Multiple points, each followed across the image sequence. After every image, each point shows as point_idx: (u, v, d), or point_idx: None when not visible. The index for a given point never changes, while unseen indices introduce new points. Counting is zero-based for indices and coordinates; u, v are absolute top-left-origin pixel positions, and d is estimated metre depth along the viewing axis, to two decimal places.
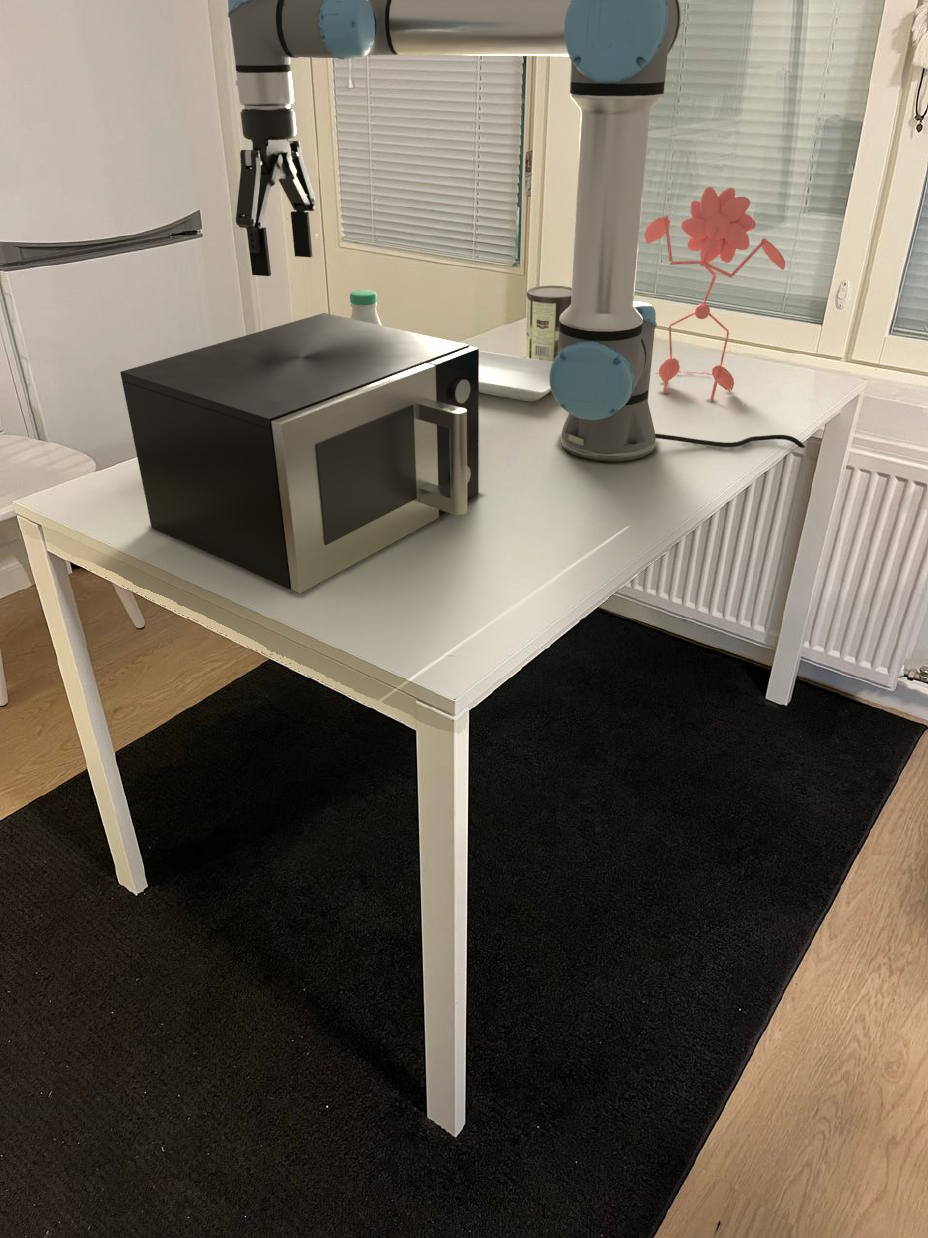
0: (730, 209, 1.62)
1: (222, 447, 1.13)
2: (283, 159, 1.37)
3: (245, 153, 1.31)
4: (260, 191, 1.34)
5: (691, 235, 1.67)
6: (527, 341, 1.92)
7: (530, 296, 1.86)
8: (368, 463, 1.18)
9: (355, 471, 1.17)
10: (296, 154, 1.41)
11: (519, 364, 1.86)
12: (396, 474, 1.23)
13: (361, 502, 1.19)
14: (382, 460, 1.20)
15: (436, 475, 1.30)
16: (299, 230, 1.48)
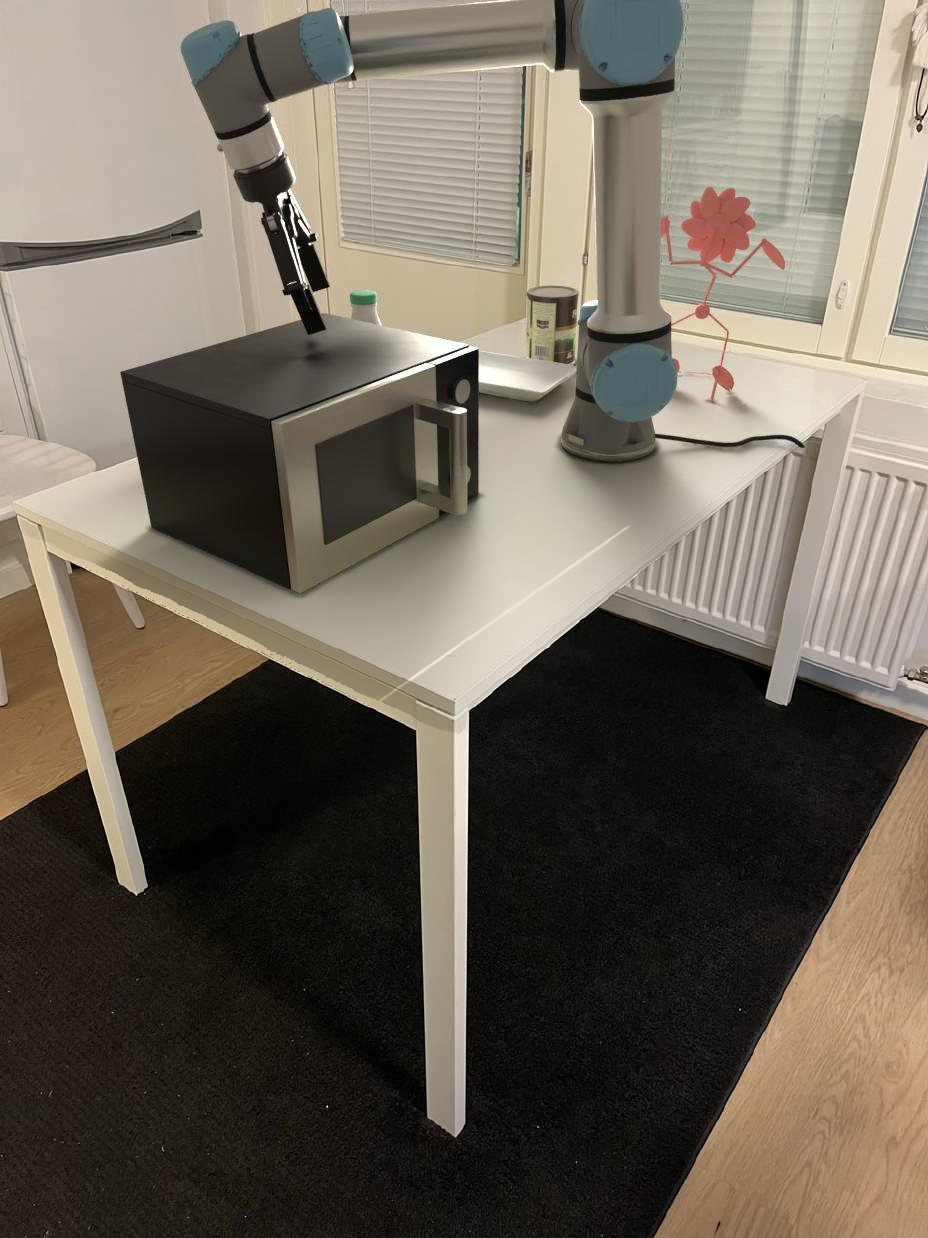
0: (730, 209, 1.62)
1: (222, 447, 1.13)
2: None
3: (268, 220, 1.22)
4: None
5: (691, 235, 1.67)
6: (527, 341, 1.92)
7: (530, 296, 1.86)
8: (368, 463, 1.18)
9: (355, 471, 1.17)
10: (289, 192, 1.31)
11: (519, 364, 1.86)
12: (396, 474, 1.23)
13: (361, 502, 1.19)
14: (382, 460, 1.20)
15: (436, 475, 1.30)
16: (310, 265, 1.40)
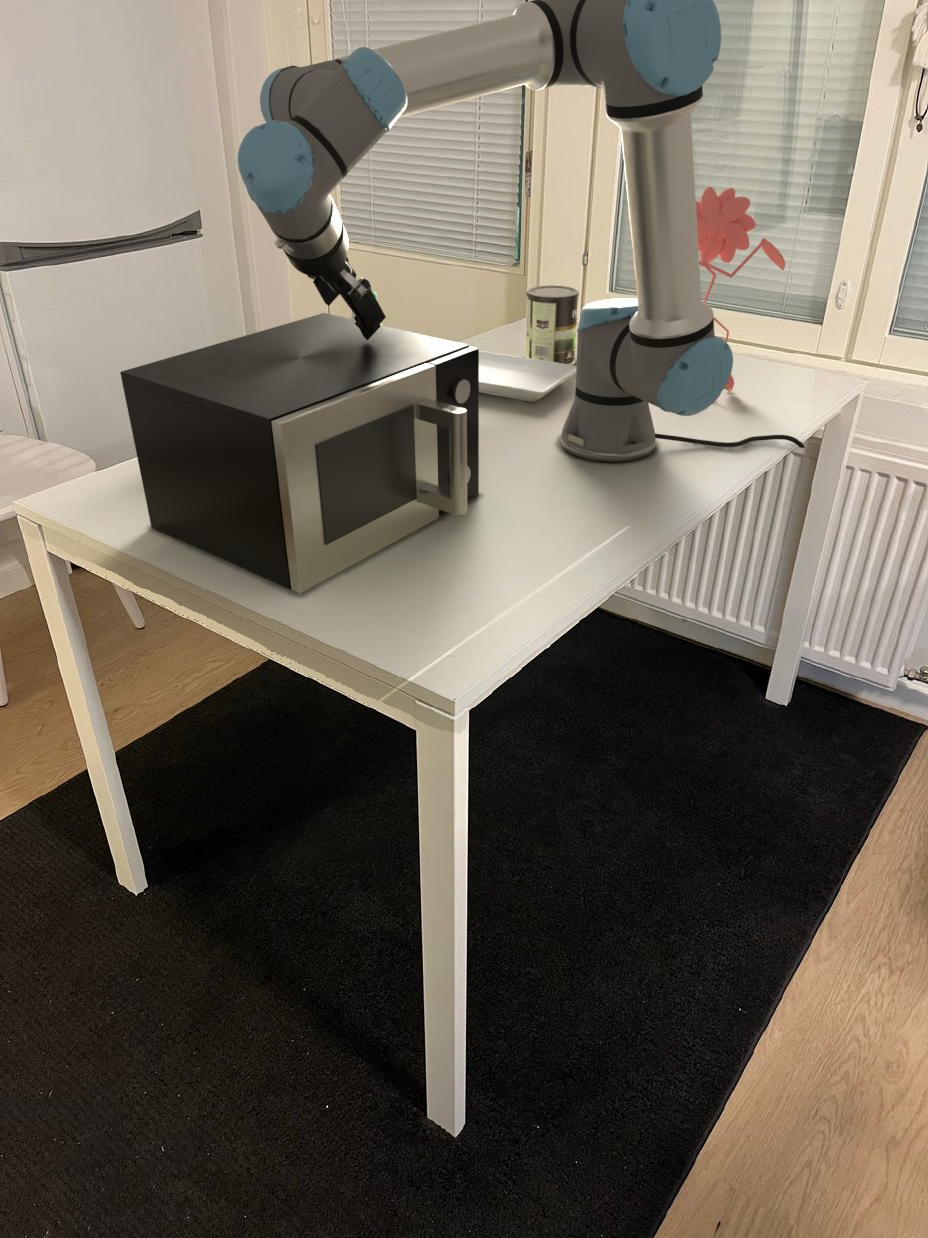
0: (730, 209, 1.62)
1: (222, 447, 1.13)
2: None
3: (361, 294, 1.14)
4: None
5: None
6: (527, 341, 1.92)
7: (530, 296, 1.86)
8: (368, 463, 1.18)
9: (355, 471, 1.17)
10: None
11: (519, 364, 1.86)
12: (396, 474, 1.23)
13: (361, 502, 1.19)
14: (382, 460, 1.20)
15: (436, 475, 1.30)
16: (327, 287, 1.28)
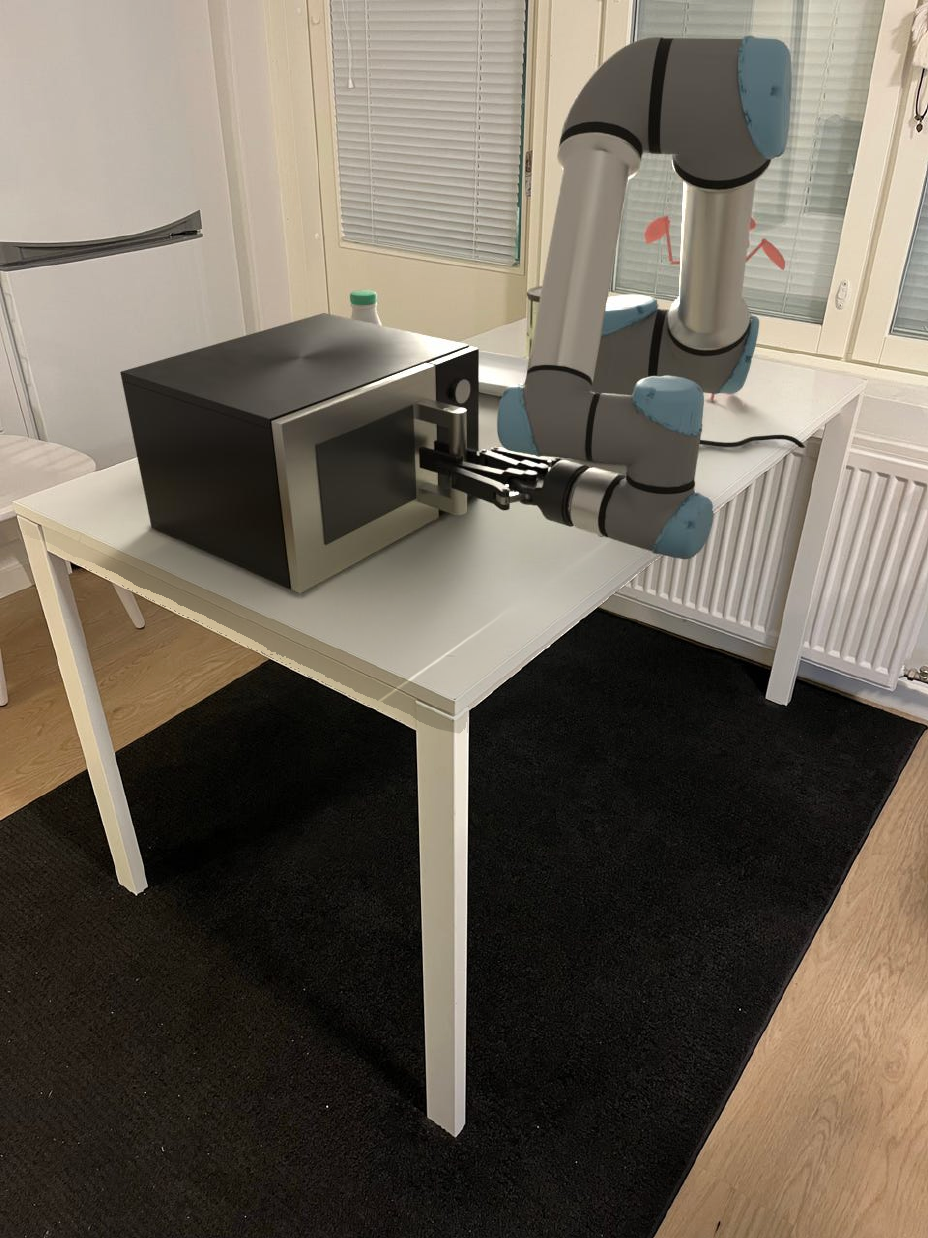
0: None
1: (222, 447, 1.13)
2: None
3: None
4: None
5: None
6: (527, 341, 1.92)
7: (530, 296, 1.86)
8: (368, 463, 1.18)
9: (355, 471, 1.17)
10: (508, 485, 1.14)
11: (519, 364, 1.86)
12: (396, 474, 1.23)
13: (361, 502, 1.19)
14: (382, 460, 1.20)
15: (436, 475, 1.30)
16: None
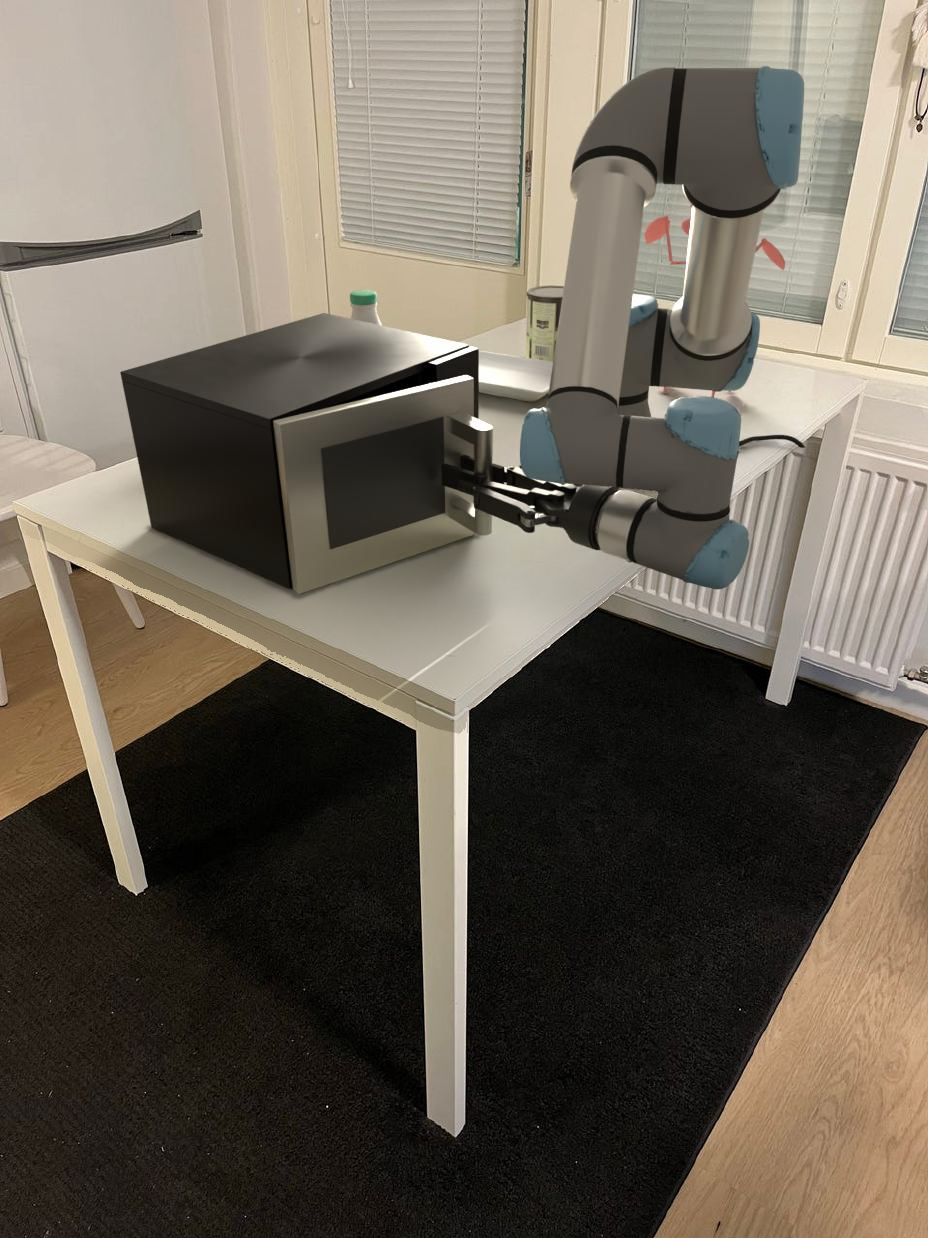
0: None
1: (222, 447, 1.13)
2: None
3: None
4: None
5: None
6: (527, 341, 1.92)
7: (530, 296, 1.86)
8: (385, 472, 1.16)
9: (369, 478, 1.15)
10: (533, 506, 1.09)
11: (519, 364, 1.86)
12: (420, 486, 1.20)
13: (375, 510, 1.17)
14: (402, 470, 1.17)
15: None
16: None
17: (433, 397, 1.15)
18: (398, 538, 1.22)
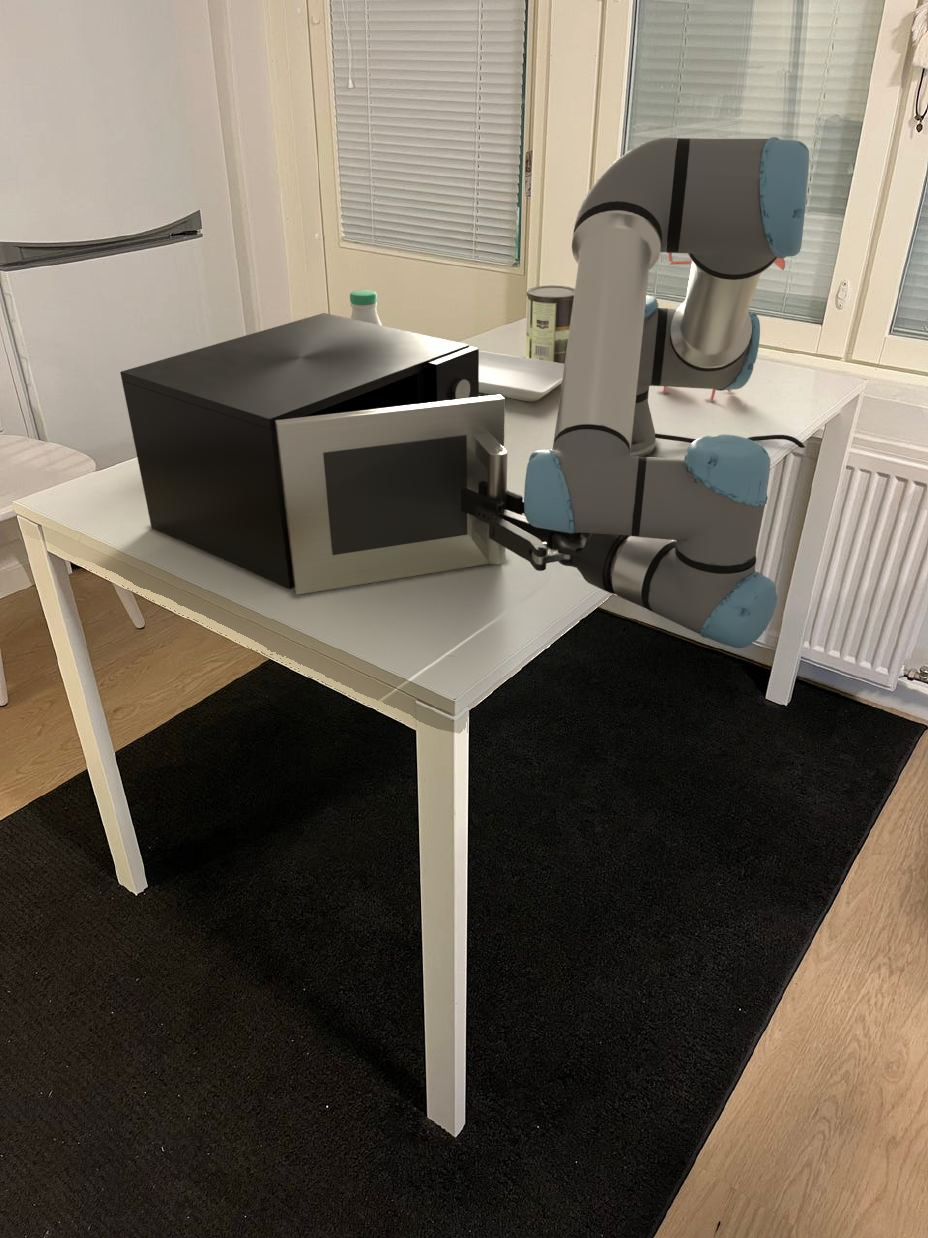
0: None
1: (222, 447, 1.13)
2: None
3: None
4: None
5: None
6: (527, 341, 1.92)
7: (530, 296, 1.86)
8: (396, 485, 1.12)
9: (377, 489, 1.12)
10: (546, 542, 1.01)
11: (519, 364, 1.86)
12: (437, 503, 1.15)
13: (384, 522, 1.14)
14: (417, 485, 1.13)
15: None
16: None
17: (455, 414, 1.10)
18: (411, 554, 1.18)
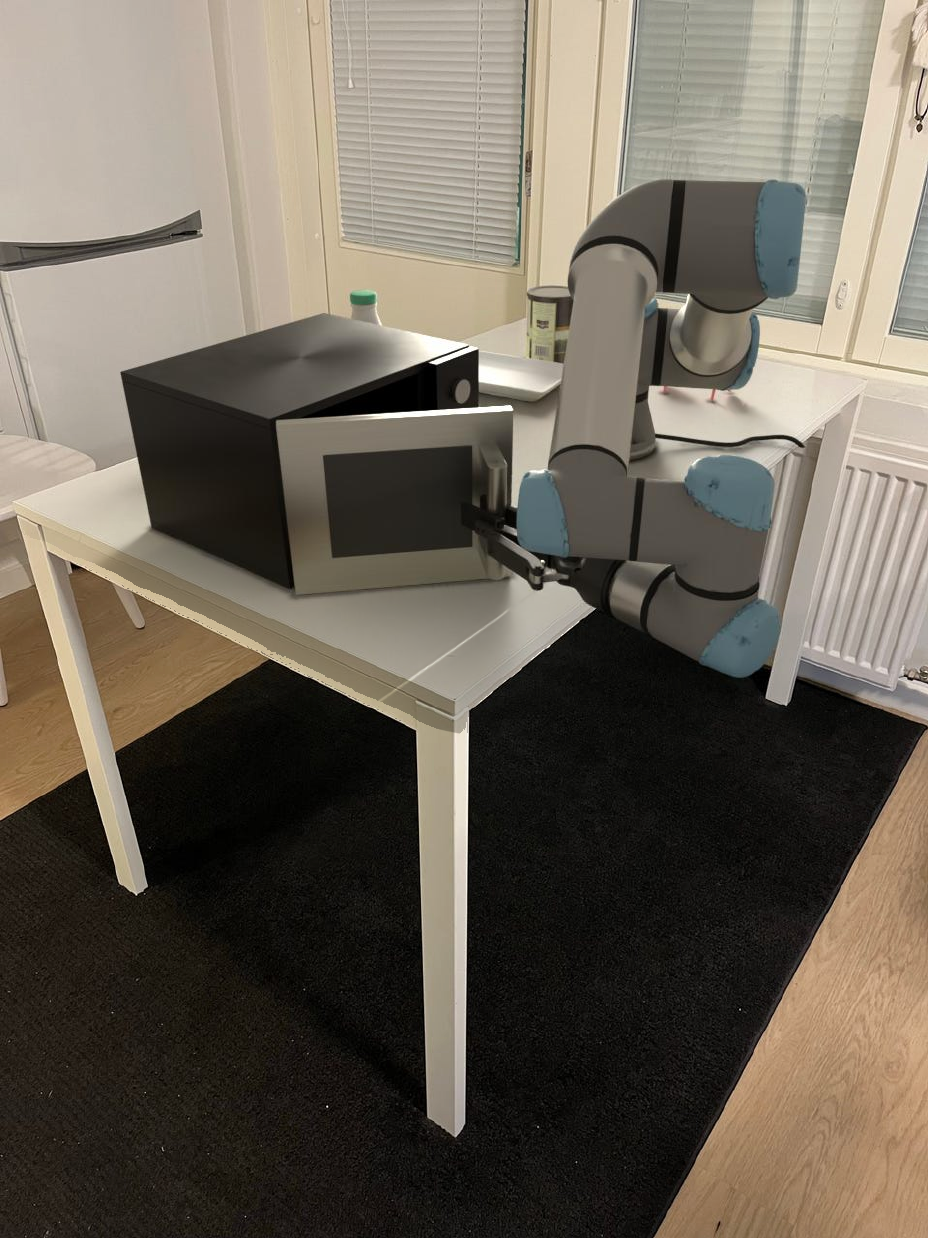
0: None
1: (222, 447, 1.13)
2: None
3: None
4: None
5: None
6: (527, 341, 1.92)
7: (530, 296, 1.86)
8: (397, 492, 1.11)
9: (378, 495, 1.11)
10: (544, 561, 0.97)
11: (519, 364, 1.86)
12: (440, 513, 1.13)
13: (385, 529, 1.13)
14: (419, 493, 1.11)
15: None
16: None
17: (460, 423, 1.08)
18: (413, 562, 1.16)
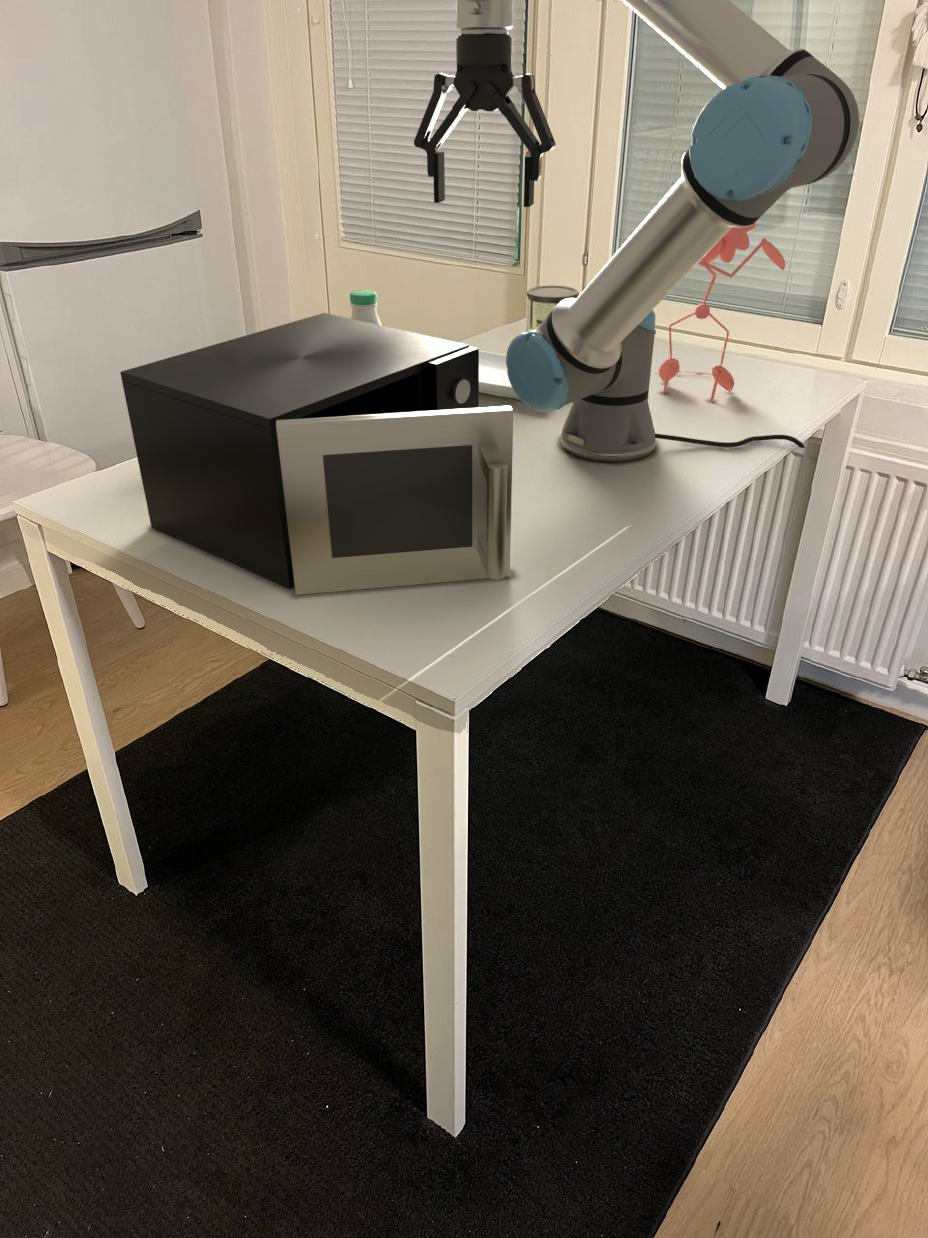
0: None
1: (222, 447, 1.13)
2: None
3: (531, 77, 1.28)
4: (521, 118, 1.32)
5: None
6: None
7: (530, 296, 1.86)
8: (397, 491, 1.11)
9: (378, 495, 1.11)
10: None
11: None
12: (440, 513, 1.13)
13: (385, 529, 1.13)
14: (419, 493, 1.11)
15: (507, 530, 1.16)
16: (441, 172, 1.38)
17: (460, 423, 1.08)
18: (413, 562, 1.16)
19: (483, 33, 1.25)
